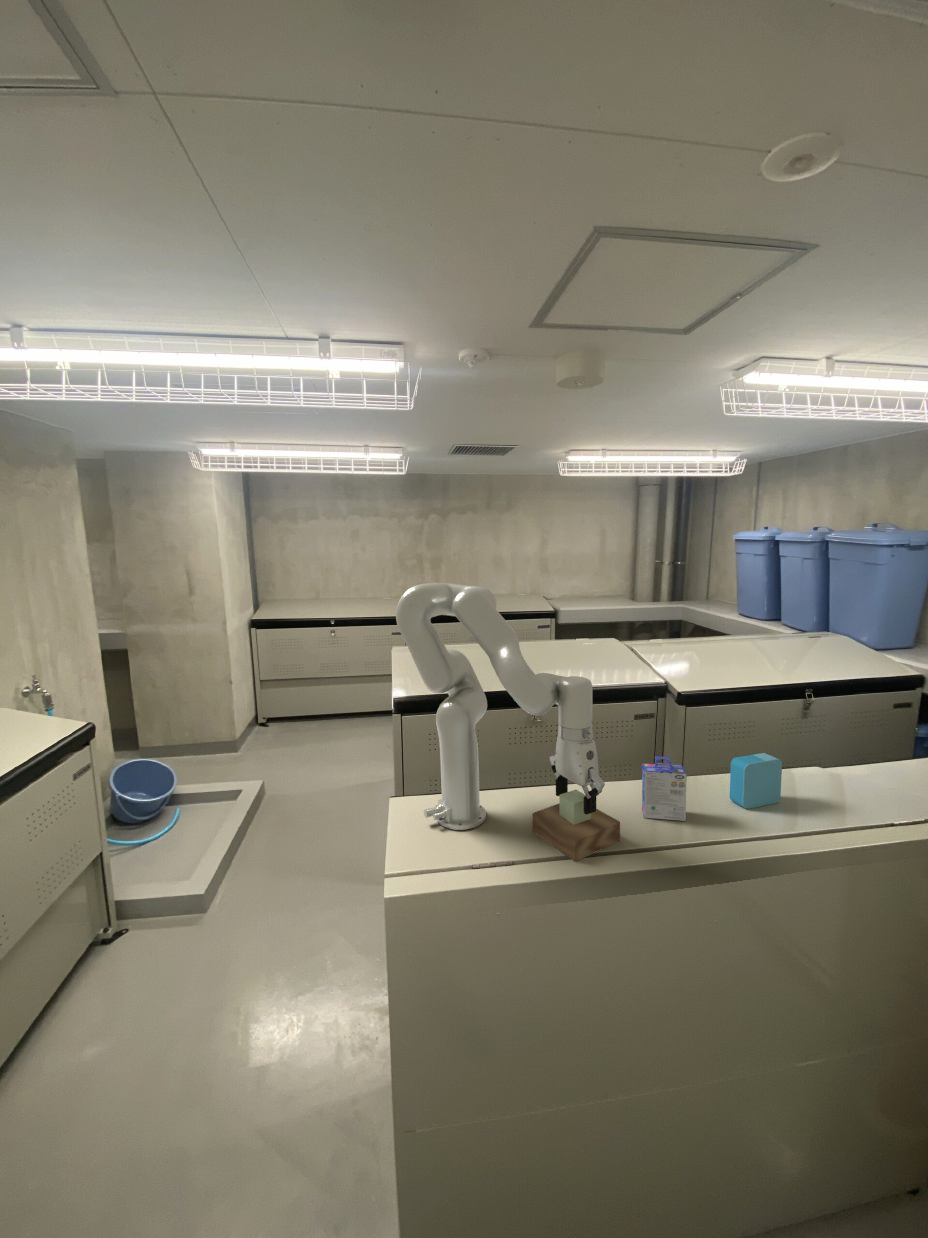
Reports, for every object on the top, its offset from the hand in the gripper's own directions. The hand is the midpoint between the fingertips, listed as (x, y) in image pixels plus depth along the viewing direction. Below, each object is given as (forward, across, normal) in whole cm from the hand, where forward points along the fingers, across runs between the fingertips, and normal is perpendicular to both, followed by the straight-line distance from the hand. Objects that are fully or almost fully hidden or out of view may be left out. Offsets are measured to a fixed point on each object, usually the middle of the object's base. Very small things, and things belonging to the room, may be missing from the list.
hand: (575, 803), depth 109 cm
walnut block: (+8, 0, 0) cm, 8 cm away
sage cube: (+3, 0, 0) cm, 3 cm away
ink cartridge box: (+8, -4, -25) cm, 27 cm away
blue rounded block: (+8, -12, -50) cm, 52 cm away
